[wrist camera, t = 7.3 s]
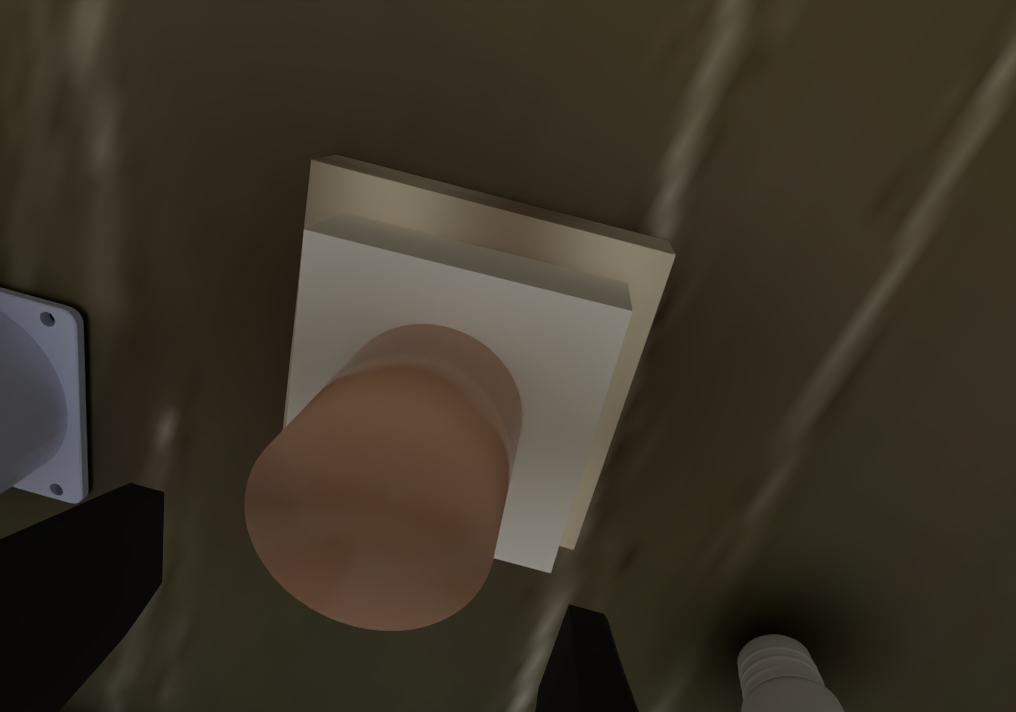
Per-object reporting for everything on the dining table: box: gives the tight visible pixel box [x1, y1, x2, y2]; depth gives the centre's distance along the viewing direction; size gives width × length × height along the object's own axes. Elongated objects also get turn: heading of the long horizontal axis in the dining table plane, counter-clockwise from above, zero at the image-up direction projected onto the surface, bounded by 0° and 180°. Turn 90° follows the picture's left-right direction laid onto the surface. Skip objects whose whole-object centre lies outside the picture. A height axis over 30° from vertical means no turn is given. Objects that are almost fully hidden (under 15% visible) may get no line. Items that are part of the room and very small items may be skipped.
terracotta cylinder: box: [244, 324, 523, 631], centre depth 14 cm, size 5×5×5 cm
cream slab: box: [286, 212, 633, 573], centre depth 18 cm, size 8×8×2 cm
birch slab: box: [283, 155, 676, 550], centre depth 20 cm, size 10×10×2 cm
